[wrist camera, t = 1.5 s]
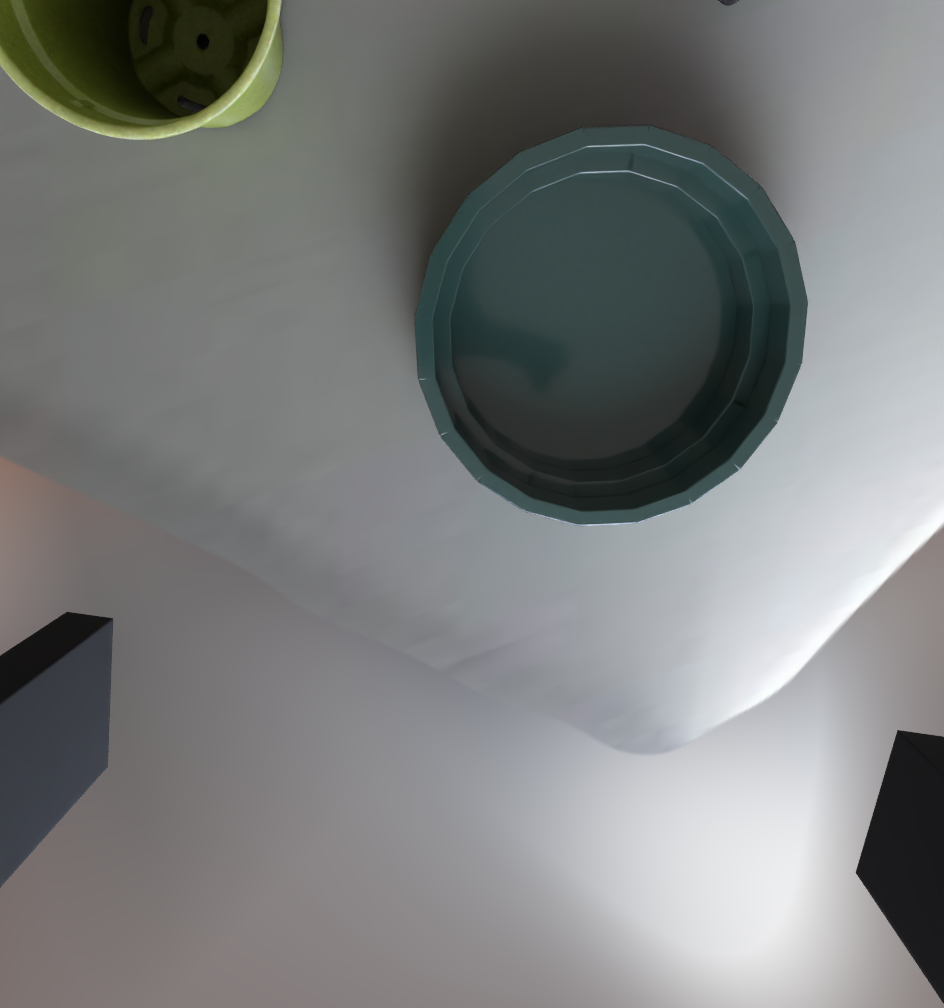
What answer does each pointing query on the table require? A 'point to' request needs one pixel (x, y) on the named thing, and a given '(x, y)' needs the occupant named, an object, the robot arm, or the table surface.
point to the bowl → (610, 325)
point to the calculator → (728, 2)
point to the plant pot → (143, 61)
